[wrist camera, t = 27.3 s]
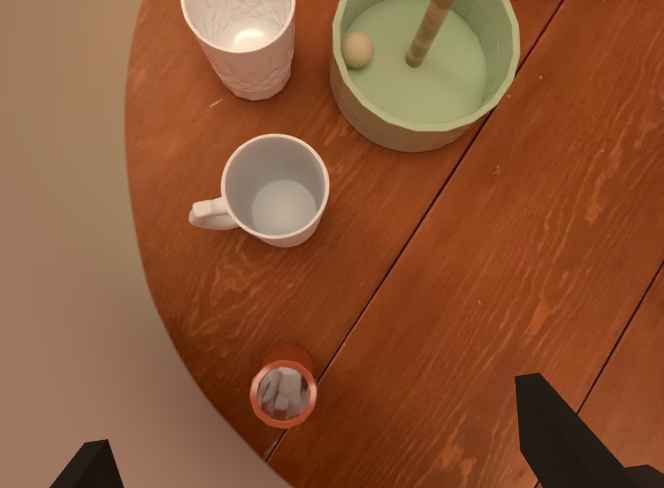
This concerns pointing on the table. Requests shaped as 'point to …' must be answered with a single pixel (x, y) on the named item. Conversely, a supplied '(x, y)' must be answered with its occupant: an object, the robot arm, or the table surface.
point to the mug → (269, 191)
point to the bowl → (423, 70)
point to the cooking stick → (428, 31)
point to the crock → (284, 387)
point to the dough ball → (356, 49)
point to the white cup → (245, 42)
